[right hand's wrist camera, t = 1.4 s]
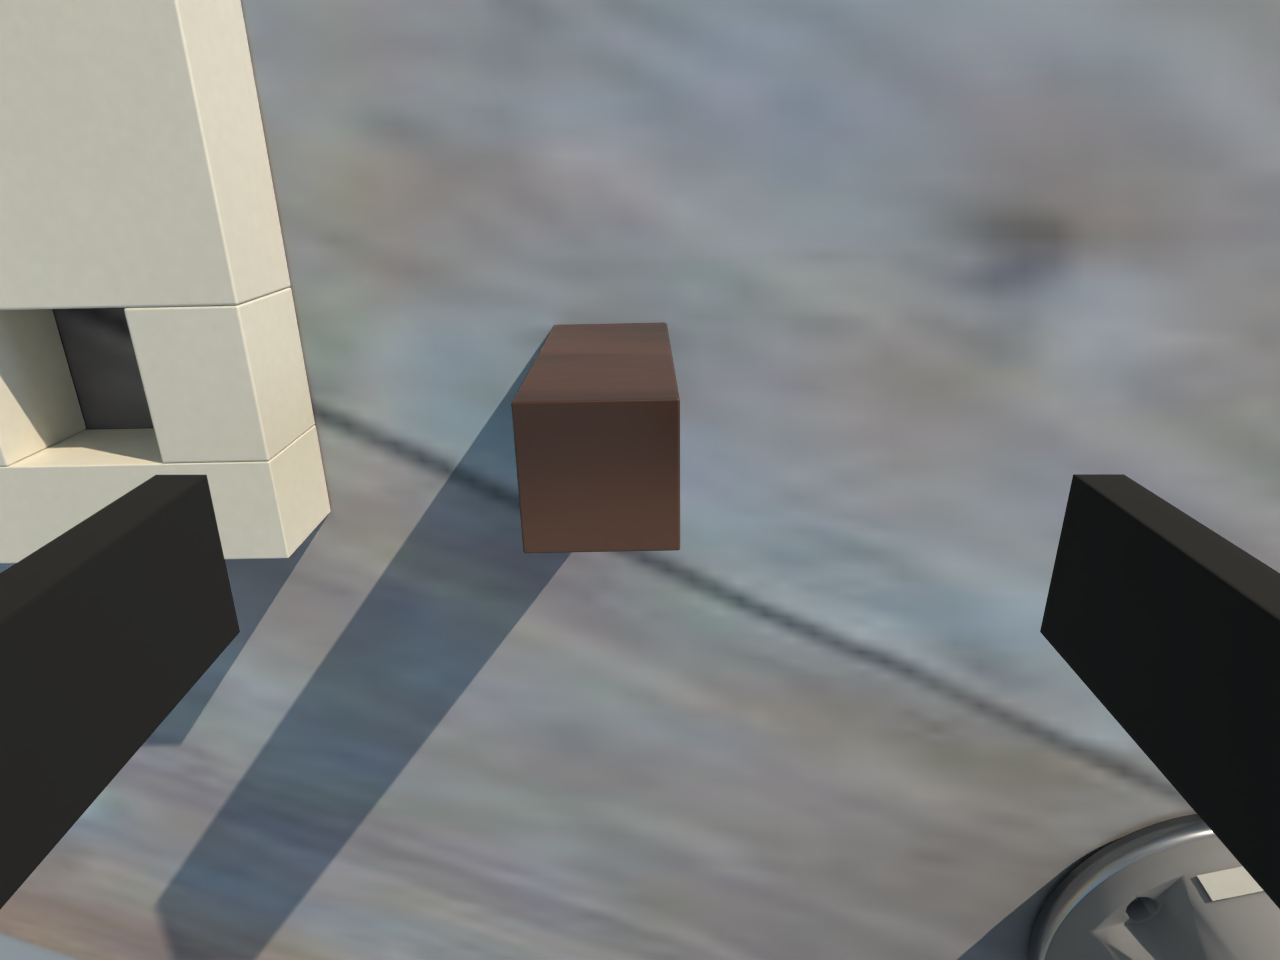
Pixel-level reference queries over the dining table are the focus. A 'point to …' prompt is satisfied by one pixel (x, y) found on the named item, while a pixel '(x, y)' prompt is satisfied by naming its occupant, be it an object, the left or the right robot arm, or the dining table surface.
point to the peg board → (147, 271)
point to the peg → (599, 441)
